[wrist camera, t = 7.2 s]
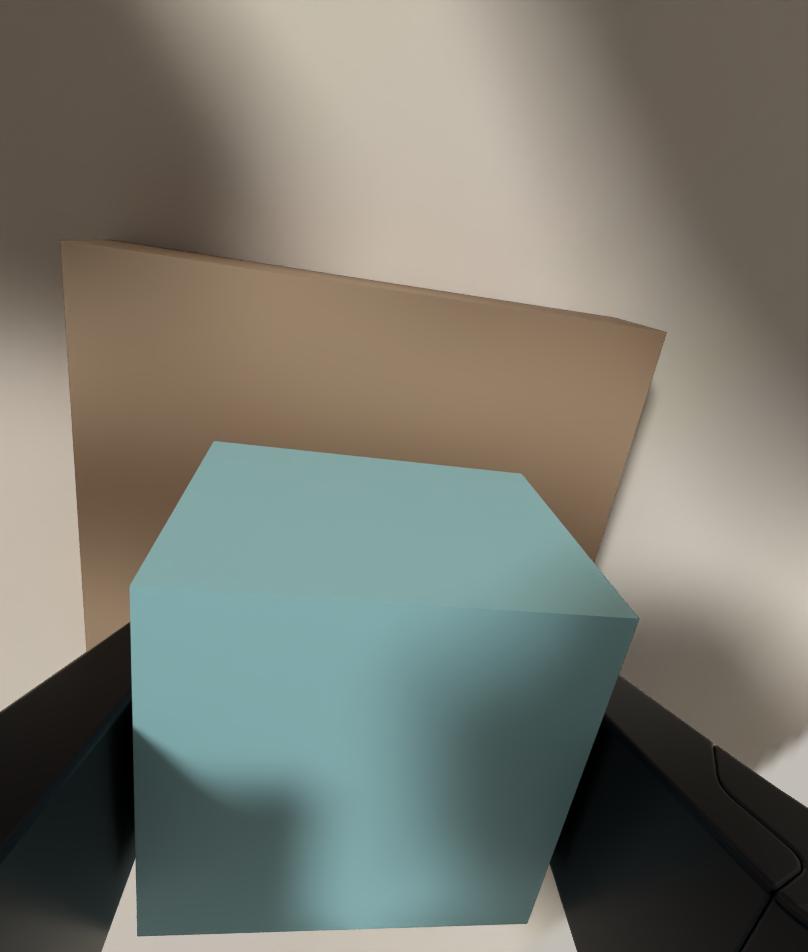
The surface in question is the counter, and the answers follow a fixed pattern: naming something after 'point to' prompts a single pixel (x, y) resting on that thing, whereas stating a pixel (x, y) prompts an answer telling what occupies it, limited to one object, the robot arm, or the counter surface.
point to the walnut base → (324, 389)
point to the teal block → (359, 695)
